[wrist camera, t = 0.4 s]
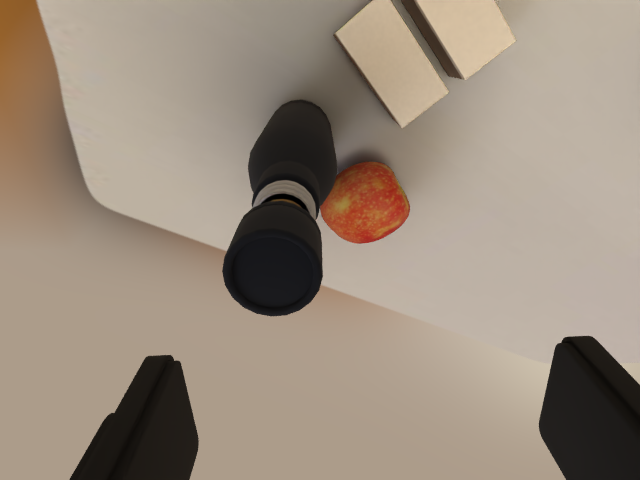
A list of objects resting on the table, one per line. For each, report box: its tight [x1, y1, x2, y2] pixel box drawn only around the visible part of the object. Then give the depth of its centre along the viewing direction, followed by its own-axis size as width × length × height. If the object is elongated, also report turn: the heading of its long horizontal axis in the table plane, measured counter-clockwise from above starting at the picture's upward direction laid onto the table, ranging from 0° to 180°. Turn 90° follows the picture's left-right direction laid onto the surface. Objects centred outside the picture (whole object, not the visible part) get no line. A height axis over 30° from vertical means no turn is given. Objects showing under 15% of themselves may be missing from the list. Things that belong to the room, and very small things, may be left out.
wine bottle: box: [222, 100, 337, 316], centre depth 30 cm, size 6×6×30 cm
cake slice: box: [401, 0, 516, 80], centre depth 37 cm, size 10×5×5 cm, turn 39°
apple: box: [320, 162, 410, 244], centre depth 43 cm, size 8×8×8 cm
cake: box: [333, 0, 449, 128], centre depth 38 cm, size 10×5×5 cm, turn 39°
